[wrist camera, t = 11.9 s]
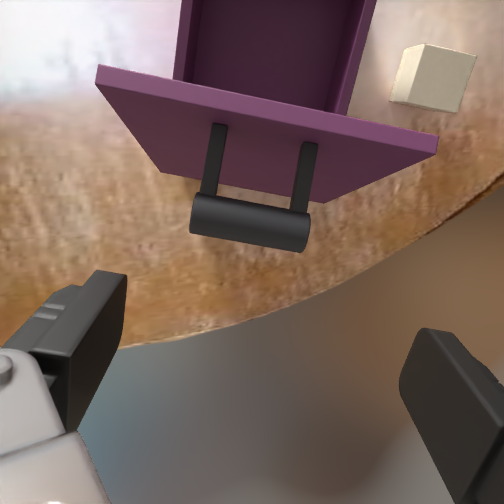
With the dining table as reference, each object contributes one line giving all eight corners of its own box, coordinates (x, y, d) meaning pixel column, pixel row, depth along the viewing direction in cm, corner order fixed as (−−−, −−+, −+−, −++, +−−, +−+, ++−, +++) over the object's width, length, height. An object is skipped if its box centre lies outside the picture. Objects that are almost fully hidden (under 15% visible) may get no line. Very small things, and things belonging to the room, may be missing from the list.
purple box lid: (97, 63, 15) (70, 209, 15) (439, 135, 16) (415, 272, 16) (162, 162, 33) (149, 231, 33) (325, 194, 34) (314, 260, 34)
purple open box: (200, -50, 33) (190, -80, 27) (361, -11, 34) (385, -33, 28) (175, 155, 39) (162, 166, 33) (312, 182, 40) (324, 197, 34)
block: (404, 49, 36) (424, 43, 32) (451, 59, 36) (477, 55, 32) (388, 101, 37) (406, 102, 33) (434, 111, 38) (456, 113, 34)
